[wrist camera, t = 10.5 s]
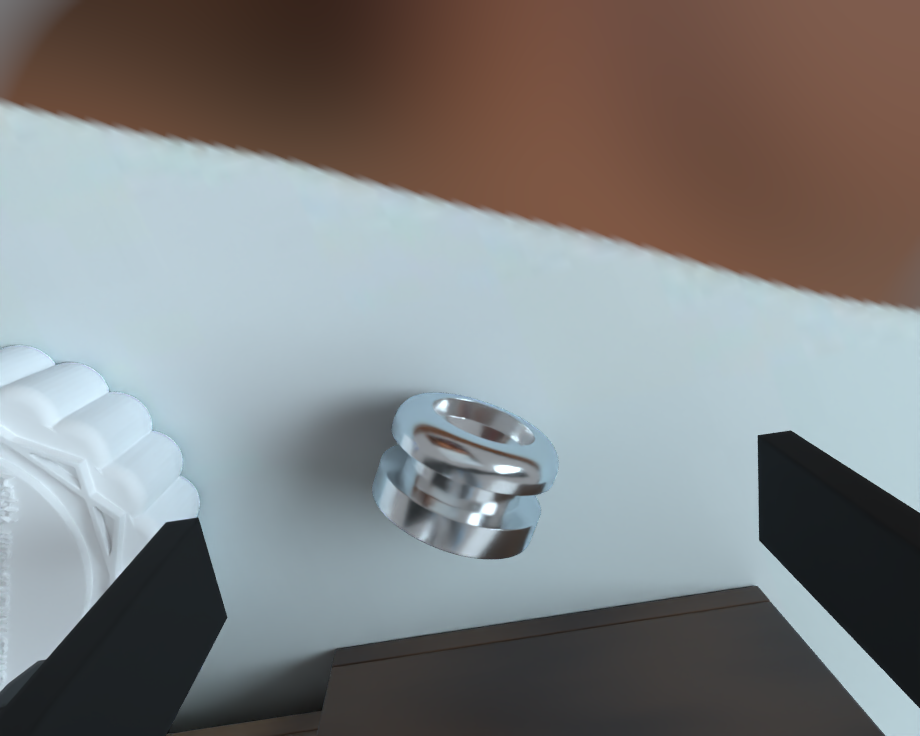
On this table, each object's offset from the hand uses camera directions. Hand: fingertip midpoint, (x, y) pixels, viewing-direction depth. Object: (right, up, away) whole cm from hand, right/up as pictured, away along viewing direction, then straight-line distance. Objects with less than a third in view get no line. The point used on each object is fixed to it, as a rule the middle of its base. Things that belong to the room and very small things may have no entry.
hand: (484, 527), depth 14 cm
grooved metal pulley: (0, +2, +6) cm, 7 cm away
